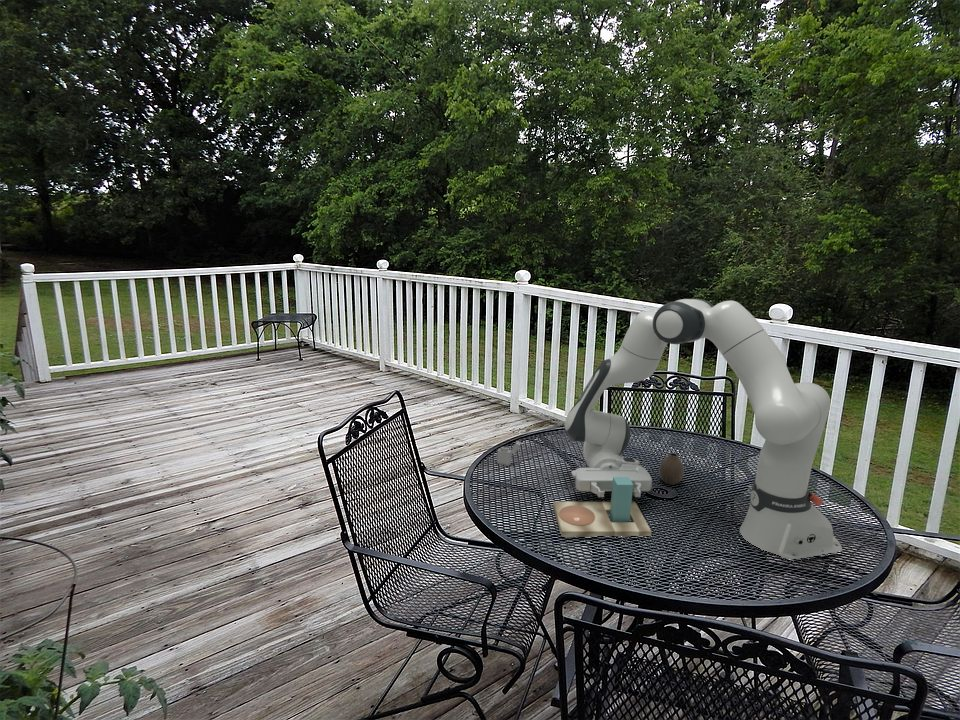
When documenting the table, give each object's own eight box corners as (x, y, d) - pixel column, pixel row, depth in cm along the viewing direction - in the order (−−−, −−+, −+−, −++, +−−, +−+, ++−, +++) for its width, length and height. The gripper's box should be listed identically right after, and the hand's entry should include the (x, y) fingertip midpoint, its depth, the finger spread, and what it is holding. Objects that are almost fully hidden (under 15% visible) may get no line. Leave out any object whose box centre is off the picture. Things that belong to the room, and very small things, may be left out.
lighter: (496, 463, 178) (497, 439, 175) (498, 460, 179) (499, 437, 177) (519, 466, 176) (520, 443, 173) (520, 464, 177) (521, 440, 175)
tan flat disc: (590, 506, 150) (590, 505, 150) (598, 525, 142) (598, 524, 141) (556, 506, 150) (556, 505, 150) (562, 525, 141) (562, 524, 141)
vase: (677, 489, 164) (681, 462, 161) (654, 482, 168) (657, 455, 165) (685, 480, 169) (689, 453, 166) (662, 473, 173) (666, 447, 170)
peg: (624, 518, 149) (628, 477, 145) (628, 527, 145) (633, 484, 141) (609, 518, 148) (613, 477, 145) (613, 527, 145) (617, 484, 141)
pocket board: (634, 508, 153) (635, 501, 153) (650, 538, 140) (651, 531, 139) (553, 508, 153) (553, 501, 152) (561, 538, 139) (562, 531, 139)
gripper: (570, 459, 159) (580, 483, 145) (643, 459, 159) (659, 483, 146) (569, 479, 160) (578, 505, 147) (641, 480, 161) (657, 505, 148)
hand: (619, 494), depth 147 cm, fingers open, 8 cm apart
